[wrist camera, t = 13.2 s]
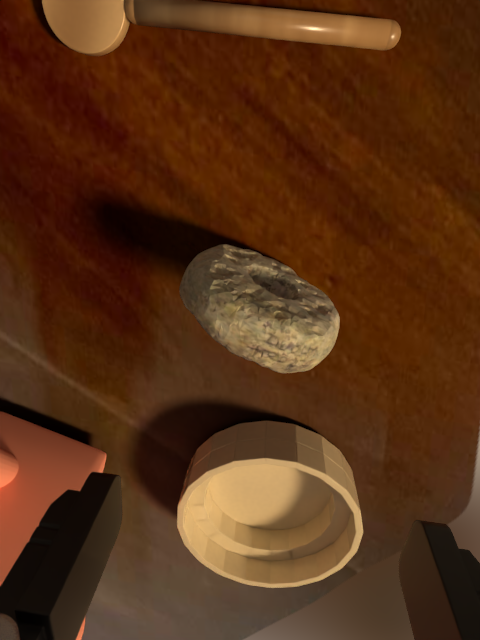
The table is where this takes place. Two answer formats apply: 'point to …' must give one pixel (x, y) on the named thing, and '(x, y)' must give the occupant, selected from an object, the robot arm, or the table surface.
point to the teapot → (36, 480)
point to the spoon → (209, 23)
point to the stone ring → (260, 308)
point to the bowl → (270, 505)
